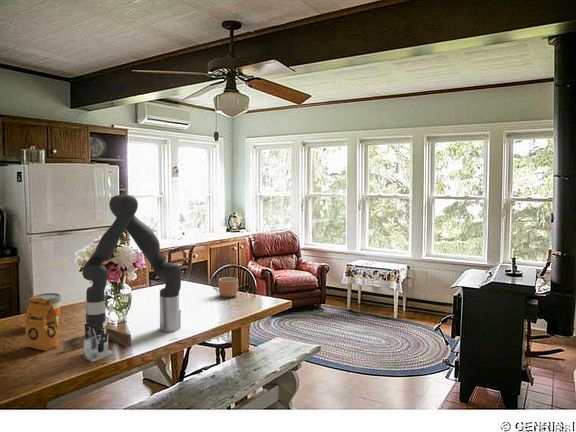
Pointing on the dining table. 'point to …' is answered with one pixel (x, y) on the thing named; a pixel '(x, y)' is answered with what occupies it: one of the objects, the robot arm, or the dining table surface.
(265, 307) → the dining table surface
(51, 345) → the coffee package
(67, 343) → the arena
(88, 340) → the angle bracket
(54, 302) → the reusable coffee cup
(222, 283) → the planter
